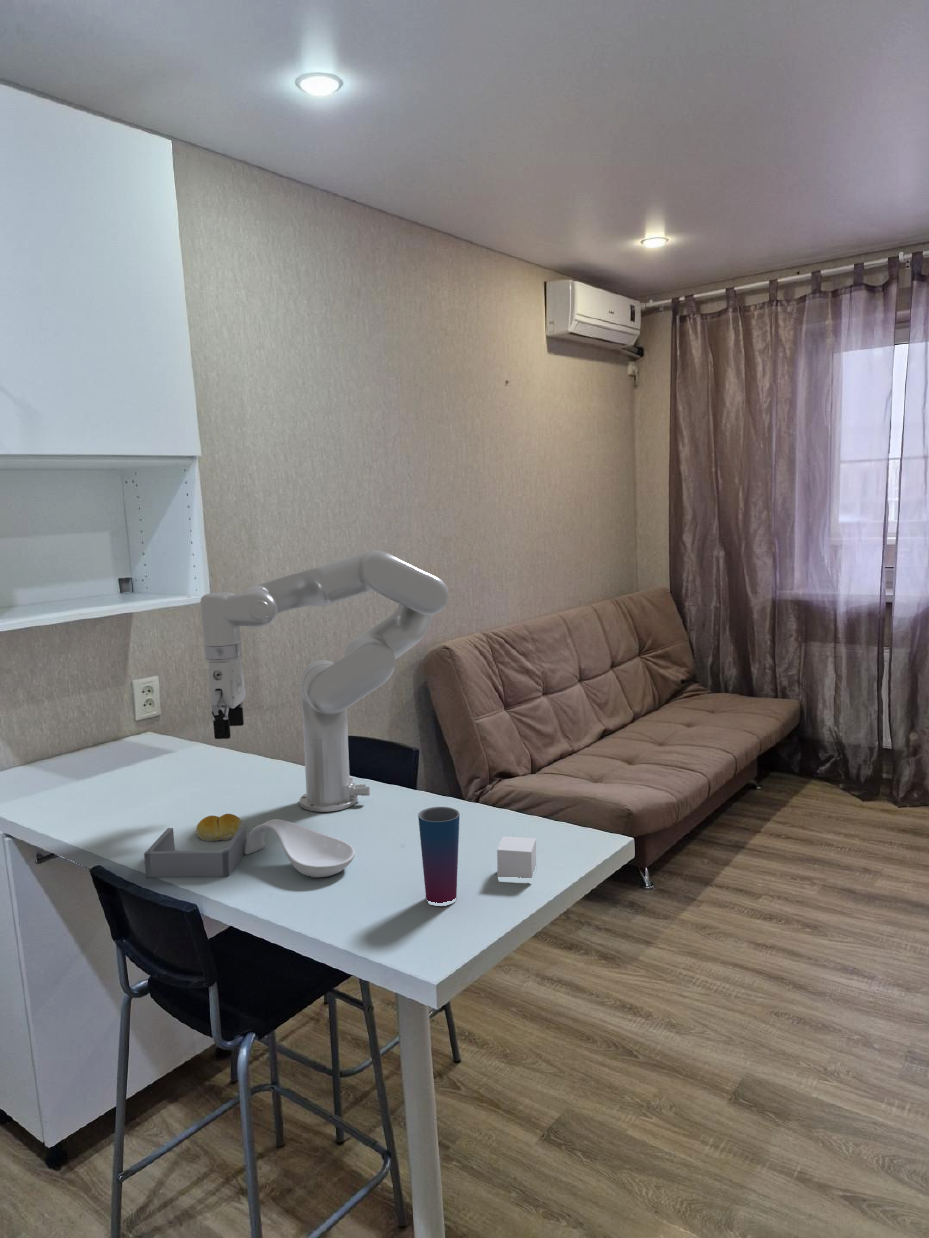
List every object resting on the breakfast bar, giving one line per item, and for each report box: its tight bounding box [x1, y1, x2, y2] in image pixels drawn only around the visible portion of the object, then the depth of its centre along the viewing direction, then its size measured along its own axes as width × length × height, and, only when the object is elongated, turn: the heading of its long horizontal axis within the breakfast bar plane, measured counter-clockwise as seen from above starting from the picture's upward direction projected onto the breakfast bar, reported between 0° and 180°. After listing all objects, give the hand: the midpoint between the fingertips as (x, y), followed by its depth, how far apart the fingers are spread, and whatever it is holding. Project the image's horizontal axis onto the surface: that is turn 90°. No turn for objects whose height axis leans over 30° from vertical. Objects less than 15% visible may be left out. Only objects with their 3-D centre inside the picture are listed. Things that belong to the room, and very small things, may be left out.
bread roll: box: [195, 813, 244, 842], centre depth 177 cm, size 8×9×4 cm
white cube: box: [496, 836, 537, 878], centre depth 154 cm, size 6×6×6 cm
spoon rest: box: [244, 818, 356, 878], centre depth 161 cm, size 24×12×7 cm, turn 58°
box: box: [143, 826, 247, 878], centre depth 163 cm, size 15×12×4 cm
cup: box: [417, 806, 460, 903], centre depth 145 cm, size 7×7×15 cm
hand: (229, 731), depth 185 cm, fingers open, 9 cm apart
